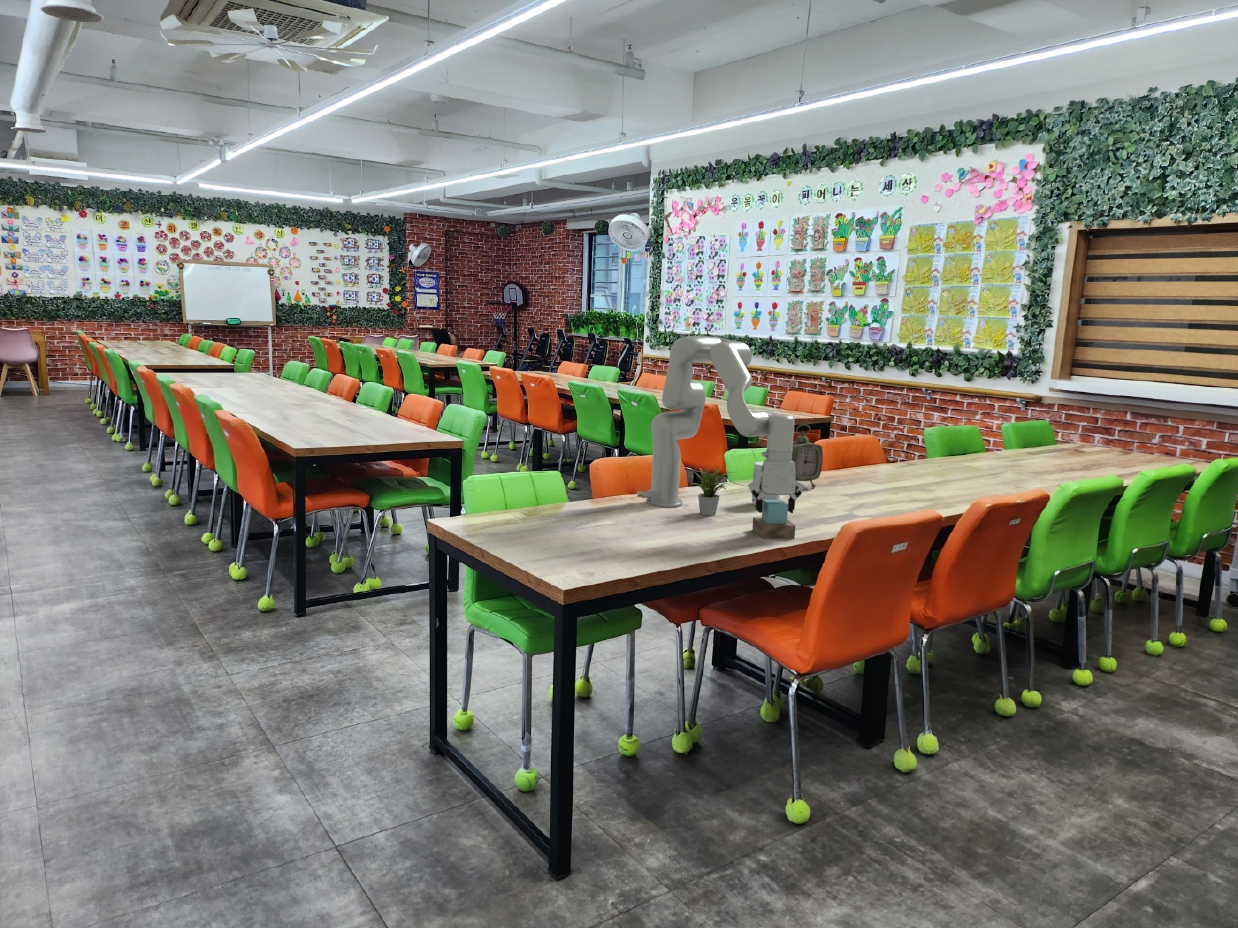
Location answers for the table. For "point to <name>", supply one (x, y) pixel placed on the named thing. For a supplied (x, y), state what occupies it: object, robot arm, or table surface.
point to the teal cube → (774, 511)
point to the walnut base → (773, 529)
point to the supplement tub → (755, 477)
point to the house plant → (709, 492)
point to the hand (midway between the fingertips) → (774, 511)
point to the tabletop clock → (806, 458)
